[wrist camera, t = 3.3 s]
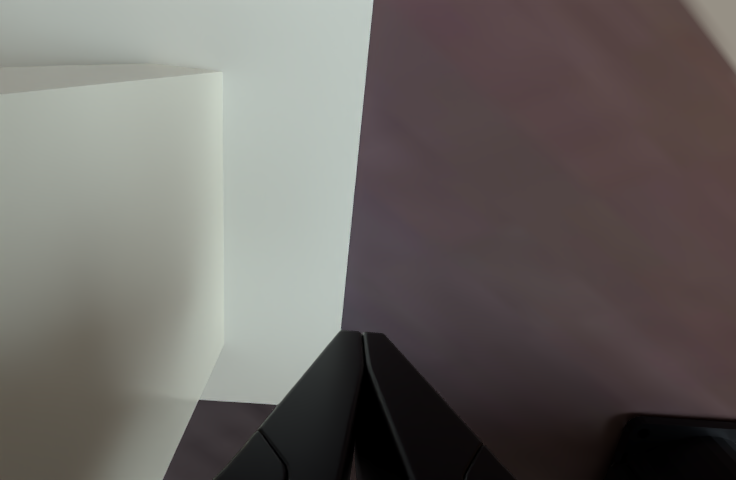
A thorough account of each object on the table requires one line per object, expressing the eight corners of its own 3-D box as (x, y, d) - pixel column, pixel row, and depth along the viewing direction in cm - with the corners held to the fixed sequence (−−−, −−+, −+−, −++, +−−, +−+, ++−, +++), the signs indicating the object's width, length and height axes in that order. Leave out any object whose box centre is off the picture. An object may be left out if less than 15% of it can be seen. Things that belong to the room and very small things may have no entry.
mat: (373, -9, 13) (374, -12, 12) (333, 397, 18) (332, 408, 17) (-334, -96, 12) (-369, -104, 11) (-165, 364, 17) (-183, 374, 16)
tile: (222, 71, 13) (-109, 105, 4) (223, 343, 16) (50, 726, 7) (137, 62, 13) (-426, 74, 4) (156, 338, 16) (-114, 724, 7)
